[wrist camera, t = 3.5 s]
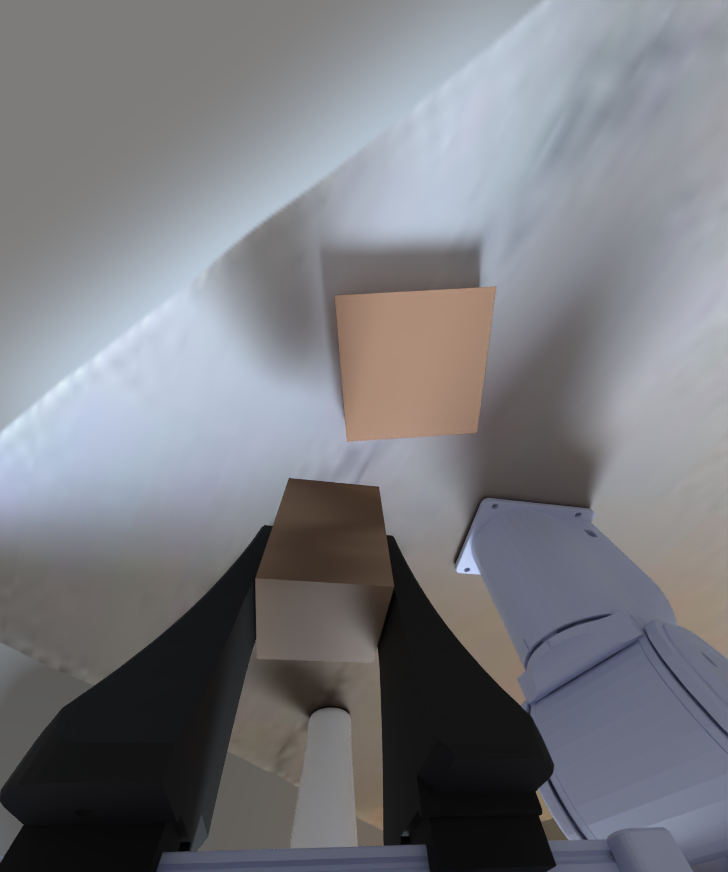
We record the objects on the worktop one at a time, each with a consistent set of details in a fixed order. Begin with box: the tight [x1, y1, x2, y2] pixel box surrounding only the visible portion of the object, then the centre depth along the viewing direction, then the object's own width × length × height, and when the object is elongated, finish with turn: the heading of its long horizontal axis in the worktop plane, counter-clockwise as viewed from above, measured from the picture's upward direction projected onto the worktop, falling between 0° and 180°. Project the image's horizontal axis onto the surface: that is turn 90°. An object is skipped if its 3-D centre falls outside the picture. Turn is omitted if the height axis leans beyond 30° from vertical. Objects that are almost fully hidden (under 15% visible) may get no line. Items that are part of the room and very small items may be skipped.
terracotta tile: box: [335, 287, 496, 442], centre depth 17 cm, size 8×8×2 cm
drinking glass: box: [290, 707, 357, 848], centre depth 30 cm, size 7×7×15 cm
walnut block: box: [255, 478, 394, 663], centre depth 11 cm, size 4×4×5 cm
